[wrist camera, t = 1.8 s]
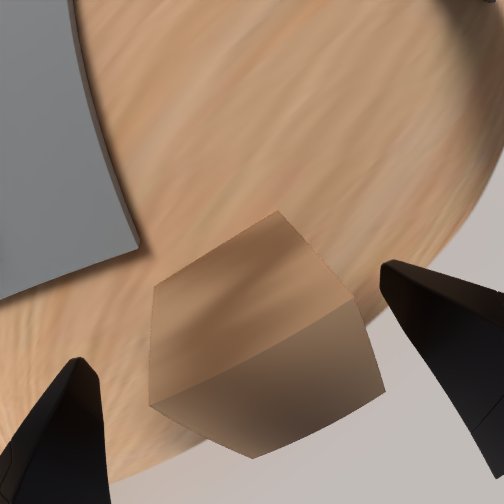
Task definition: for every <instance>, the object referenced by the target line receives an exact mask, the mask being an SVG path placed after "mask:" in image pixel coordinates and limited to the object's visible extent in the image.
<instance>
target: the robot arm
mask: <svg viewBox="0 0 504 504" xmlns="http://www.w3.org/2000/svg"><path fill="white" fill-rule="evenodd" d="M485 1H486V2H488V3H495V2H496V0H485ZM380 291H381V293H382V295H383V297H384V299H385V300H386V302H387V304H388V305H389V307H390V309H391V310H392V312H393V314H394V315H395V317H396V319H397V321H398V322H399V324H400V326H401V327H402V329H403V331H404V332H405V334H406V335H407V337H408V338H409V340H410V341H411V342H412V344H413V345H414V347H415V348H416V349H417V351H418V352H419V354H420V355H421V357H422V358H423V359H424V361H425V362H426V364H427V365H428V367H429V368H430V369H431V371H432V373H433V374H434V376H435V377H436V379H437V380H438V382H439V383H440V385H441V386H442V388H443V389H444V391H445V392H446V394H447V395H448V397H449V399H450V400H451V402H452V403H453V405H454V407H455V408H456V410H457V411H458V413H459V415H460V416H461V418H462V419H463V421H464V423H465V425H466V426H467V428H468V430H469V431H470V432H471V435H472V437H473V439H474V440H475V442H476V444H477V446H478V447H479V449H480V451H481V453H482V455H483V457H484V458H485V460H486V462H487V464H488V466H489V468H490V470H491V472H492V474H493V475H494V477H495V478H496V479H497V478H499V477H501V476H502V475H504V293H501V292H499V291H498V292H497V291H496V290H493V289H490V288H486V287H483V286H480V285H477V284H474V283H471V282H467V281H464V280H461V279H458V278H455V277H451V276H448V275H445V274H442V273H438V272H435V271H431V270H429V269H425V268H422V267H419V266H415V265H412V264H408V263H405V262H402V261H398V260H394V259H393V260H390V261H387V262H385V263H383V264H382V265H381V268H380ZM0 504H111V499H110V493H109V484H108V475H107V465H106V453H105V436H104V421H103V412H102V403H101V394H100V382H99V378H98V375H97V374H96V372H95V371H94V370H93V369H92V368H91V366H90V365H89V364H88V363H87V362H86V360H85V359H84V358H82V357H77V358H72V359H70V360H69V361H68V362H67V364H66V365H65V366H64V367H63V369H62V370H61V371H60V372H59V374H58V375H57V376H56V378H55V379H54V380H53V382H52V383H51V384H50V385H49V387H48V388H47V389H46V391H45V392H44V393H43V395H42V396H41V397H40V399H39V400H38V402H37V403H36V404H35V406H34V407H33V408H32V410H31V411H30V413H29V414H28V415H27V417H26V418H25V420H24V421H23V422H22V424H21V425H20V427H19V428H18V430H17V431H16V433H15V434H14V436H13V437H12V439H11V441H9V443H8V445H7V446H6V448H5V449H4V451H3V452H2V454H1V455H0Z"/></svg>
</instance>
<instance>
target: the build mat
mask: <svg viewBox="0 0 504 504" xmlns="http://www.w3.org/2000/svg"><path fill="white" fill-rule="evenodd" d="M140 241H141V240H140V237H139V235H138V233H137V230H136V228H135V225H134V223H133V220H132V218H131V215H130V213H129V210H128V208H127V205H126V202H125V200H124V197H123V194H122V192H121V189H120V186H119V183H118V180H117V178H116V175H115V172H114V169H113V166H112V163H111V160H110V157H109V154H108V151H107V148H106V145H105V142H104V138H103V135H102V132H101V128H100V125H99V122H98V118H97V115H96V111H95V107H94V104H93V100H92V96H91V92H90V88H89V84H88V80H87V76H86V71H85V67H84V62H83V58H82V53H81V48H80V43H79V37H78V32H77V26H76V20H75V13H74V6H73V0H0V300H1V299H3V298H6V297H8V296H11V295H13V294H16V293H18V292H21V291H23V290H26V289H28V288H31V287H34V286H36V285H39V284H41V283H44V282H47V281H49V280H52V279H55V278H57V277H60V276H63V275H65V274H68V273H71V272H73V271H76V270H79V269H82V268H84V267H87V266H90V265H93V264H96V263H98V262H101V261H104V260H107V259H110V258H113V257H116V256H118V255H121V254H124V253H127V252H130V251H133V250H136V249H139V245H140Z"/></svg>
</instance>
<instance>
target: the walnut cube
mask: <svg viewBox="0 0 504 504" xmlns="http://www.w3.org/2000/svg"><path fill="white" fill-rule="evenodd" d="M384 392H386V391H385V388H384V384H383V381H382V378H381V374H380V371H379V368H378V364H377V361H376V358H375V355H374V352H373V349H372V346H371V343H370V340H369V337H368V334H367V331H366V328H365V325H364V322H363V319H362V316H361V314H360V311H359V308H358V305H357V303H356V300H355V297H354V296H353V295H352V293H351V292H350V291H349V290H348V289H347V288H346V286H345V285H344V284H343V283H342V282H341V281H340V279H339V278H338V277H337V276H336V275H335V274H334V272H333V271H332V270H331V269H330V268H329V267H328V266H327V264H326V263H325V262H324V261H323V260H322V259H321V258H320V256H319V255H318V254H317V253H316V252H315V251H314V250H313V248H312V247H311V246H310V245H309V244H308V243H307V242H306V241H305V240H304V238H303V237H302V236H301V235H300V234H299V233H298V232H297V231H296V230H295V228H294V227H293V226H292V225H291V224H290V223H289V222H288V221H287V220H286V219H285V217H284V216H283V215H282V214H281V213H280V212H279V211H276V212H274V213H273V214H271V215H269V216H268V217H266V218H264V219H263V220H261V221H259V222H258V223H256V224H254V225H253V226H251V227H250V228H248V229H246V230H245V231H243V232H241V233H240V234H238V235H236V236H235V237H233V238H231V239H230V240H228V241H227V242H225V243H223V244H222V245H220V246H218V247H217V248H215V249H214V250H212V251H210V252H209V253H207V254H205V255H204V256H202V257H201V258H199V259H197V260H196V261H194V262H193V263H191V264H189V265H188V266H186V267H185V268H183V269H181V270H180V271H178V272H177V273H175V274H173V275H172V276H170V277H169V278H167V279H166V280H164V281H162V282H161V283H159V284H158V285H156V286H155V287H154V294H153V306H152V320H151V337H150V360H149V406H150V407H152V408H153V409H155V410H156V411H158V412H160V413H161V414H163V415H165V416H167V417H168V418H170V419H172V420H173V421H175V422H177V423H179V424H181V425H182V426H184V427H186V428H188V429H190V430H192V431H194V432H195V433H197V434H199V435H201V436H203V437H205V438H207V439H209V440H211V441H213V442H215V443H218V444H220V445H222V446H225V447H226V448H228V449H231V450H233V451H235V452H238V453H240V454H242V455H244V456H247V457H249V458H252V459H254V458H256V457H259V456H262V455H264V454H267V453H269V452H272V451H274V450H277V449H279V448H282V447H284V446H286V445H289V444H291V443H293V442H295V441H297V440H300V439H302V438H304V437H306V436H308V435H310V434H312V433H314V432H316V431H318V430H320V429H322V428H324V427H326V426H328V425H330V424H332V423H334V422H336V421H338V420H339V419H341V418H343V417H345V416H347V415H348V414H350V413H352V412H354V411H355V410H357V409H359V408H360V407H362V406H364V405H365V404H367V403H369V402H370V401H372V400H374V399H375V398H377V397H378V396H380V395H381V394H383V393H384Z"/></svg>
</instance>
